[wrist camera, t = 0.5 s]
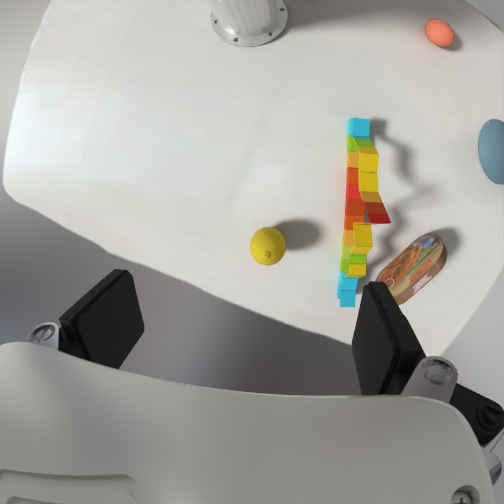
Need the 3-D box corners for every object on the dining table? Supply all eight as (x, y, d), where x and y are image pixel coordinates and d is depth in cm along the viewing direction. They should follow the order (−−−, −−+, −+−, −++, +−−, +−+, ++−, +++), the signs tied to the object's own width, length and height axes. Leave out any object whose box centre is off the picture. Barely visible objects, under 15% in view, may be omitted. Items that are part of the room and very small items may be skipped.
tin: (427, 227, 42) (450, 243, 34) (435, 239, 43) (457, 257, 35) (368, 281, 47) (380, 305, 40) (377, 291, 48) (389, 317, 40)
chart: (353, 293, 49) (370, 345, 35) (336, 293, 49) (349, 345, 36) (365, 122, 38) (400, 113, 24) (346, 120, 38) (373, 109, 24)
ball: (414, 29, 29) (427, 19, 24) (431, 21, 27) (444, 11, 22) (434, 53, 30) (448, 46, 25) (450, 44, 28) (464, 37, 23)
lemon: (293, 235, 46) (293, 252, 39) (273, 259, 48) (269, 280, 41) (266, 215, 45) (261, 229, 38) (247, 240, 48) (239, 258, 40)
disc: (468, 136, 34) (469, 136, 34) (501, 109, 30) (502, 109, 30) (493, 196, 37) (493, 196, 37) (523, 165, 33) (524, 165, 33)
